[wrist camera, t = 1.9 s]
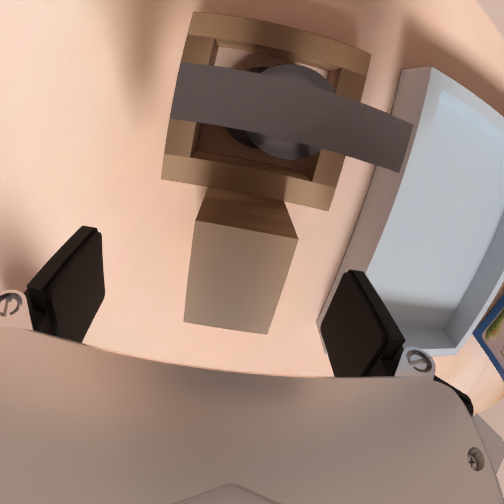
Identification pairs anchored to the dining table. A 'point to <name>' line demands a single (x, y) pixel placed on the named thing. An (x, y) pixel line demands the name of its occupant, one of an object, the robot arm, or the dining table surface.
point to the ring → (251, 181)
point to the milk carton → (493, 336)
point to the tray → (435, 216)
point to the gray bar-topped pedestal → (289, 113)
